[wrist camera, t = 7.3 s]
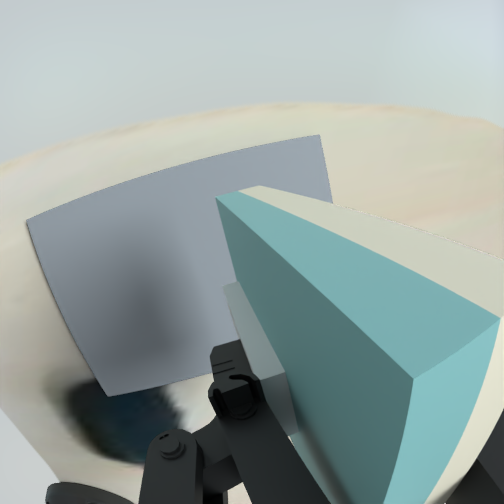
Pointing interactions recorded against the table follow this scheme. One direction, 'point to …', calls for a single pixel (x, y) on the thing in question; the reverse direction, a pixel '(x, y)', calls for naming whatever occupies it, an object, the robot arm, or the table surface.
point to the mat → (160, 261)
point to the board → (373, 342)
